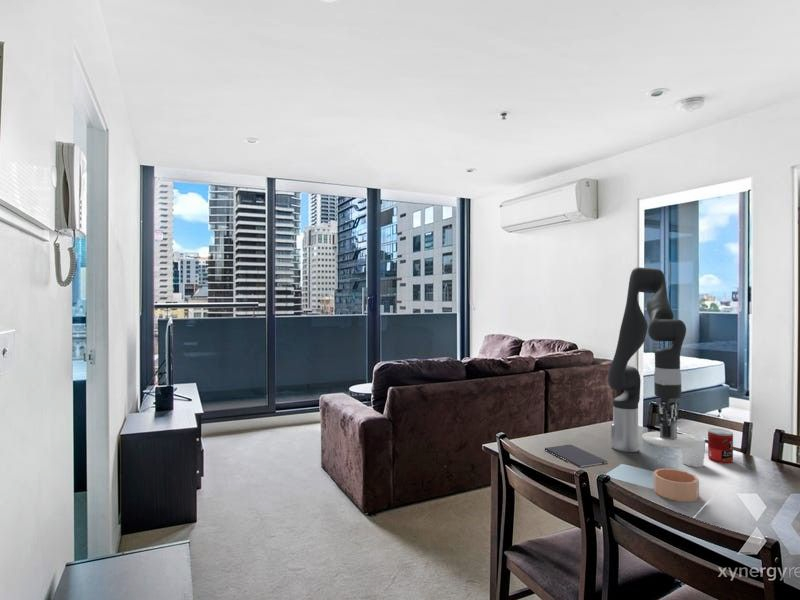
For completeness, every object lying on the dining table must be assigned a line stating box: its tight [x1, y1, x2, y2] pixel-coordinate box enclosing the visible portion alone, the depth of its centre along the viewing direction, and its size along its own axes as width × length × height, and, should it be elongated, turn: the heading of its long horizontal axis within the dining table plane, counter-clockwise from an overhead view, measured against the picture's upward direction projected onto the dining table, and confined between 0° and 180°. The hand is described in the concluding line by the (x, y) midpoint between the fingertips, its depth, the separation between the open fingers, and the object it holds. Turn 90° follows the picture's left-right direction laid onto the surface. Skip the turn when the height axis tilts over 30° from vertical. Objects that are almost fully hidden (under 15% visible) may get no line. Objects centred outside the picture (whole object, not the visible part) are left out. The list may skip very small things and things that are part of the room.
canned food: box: [707, 427, 734, 464], centre depth 179 cm, size 8×8×11 cm
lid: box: [641, 422, 696, 449], centre depth 151 cm, size 15×15×6 cm
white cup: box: [680, 433, 706, 468], centre depth 175 cm, size 8×8×10 cm
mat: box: [605, 463, 654, 490], centre depth 163 cm, size 16×16×1 cm
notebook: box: [544, 444, 608, 468], centre depth 184 cm, size 13×2×21 cm
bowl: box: [653, 467, 700, 502], centre depth 149 cm, size 12×12×6 cm
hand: (668, 435), depth 151 cm, fingers closed on lid, 3 cm apart
